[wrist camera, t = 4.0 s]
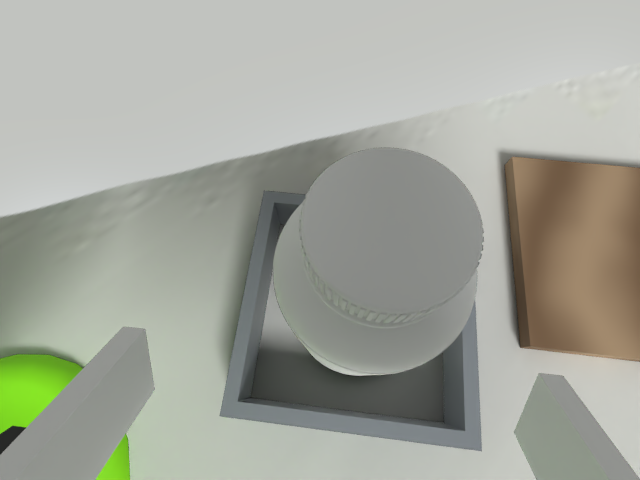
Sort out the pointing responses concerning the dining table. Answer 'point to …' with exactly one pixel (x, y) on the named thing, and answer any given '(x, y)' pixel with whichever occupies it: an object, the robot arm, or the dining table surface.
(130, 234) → the dining table surface
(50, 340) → the dining table surface
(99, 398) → the robot arm
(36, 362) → the wineglass
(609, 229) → the board
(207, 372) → the dining table surface
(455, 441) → the bin
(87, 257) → the dining table surface
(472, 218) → the pill bottle
